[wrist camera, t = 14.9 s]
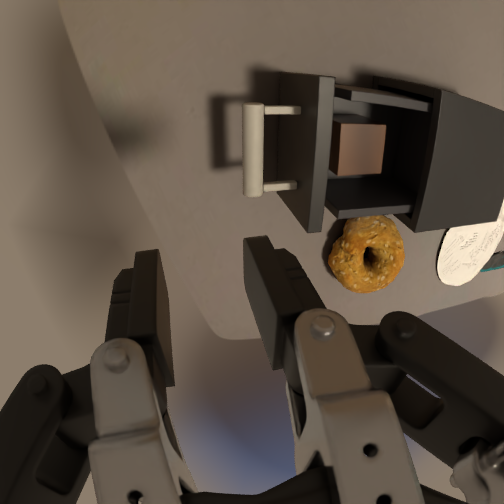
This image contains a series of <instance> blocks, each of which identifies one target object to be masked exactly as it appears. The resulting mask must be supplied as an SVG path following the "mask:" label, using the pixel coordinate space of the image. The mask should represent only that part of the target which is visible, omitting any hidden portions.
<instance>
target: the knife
mask: <svg viewBox="0 0 504 504" xmlns="http://www.w3.org/2000/svg"><path fill="white" fill-rule="evenodd" d="M503 267H504V252H503V251H502V252H501V253H498V254H495V255H494V254H493V255H492V256H491V257H490V259H489V261H487V262H486V263H485V265H484V266H483V267H482V268H481V270H480V271H481V272H485V271H490V270H495V269H499V268H503Z"/></svg>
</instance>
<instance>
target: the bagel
mask: <svg viewBox="0 0 504 504" xmlns="http://www.w3.org/2000/svg"><path fill="white" fill-rule="evenodd" d="M343 231H344V234H343V235H342V237H339V238H338V239H337V240H336V242H335V243H334V244H333V248H332V251H331V254H330V255H329V260H328V264H329V266H330V267H331V269H332V271H333V273H334V274H335V276H336V278H337V280H338V281H339V282H340V283H341V284H342V285H343V287H345V288H346V289H348V290H351V291H353V292H356V293H370V292H372V291H377V290H379V289H383V288H385V287H386V286H388V284H389V283H391V282H392V281H393V280H394V278H395V277H396V276H397V274H398V273H399V271H400V269H401V267H402V266H403V263H404V258H405V254H404V249H403V240H402V238H401V236H400V233H399V232H398V230H397V228H396V225H395V223H394V222H393V221H392V220H391V219H389V218H387V217H385V216H383V215H377V216H366V217H356V218H351V219H349V220H347V221H346V223H345V227H344V228H343ZM367 246H368V247H369V253H368V258H365V259H363V253H364V251H365V248H366V247H367Z"/></svg>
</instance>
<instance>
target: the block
mask: <svg viewBox="0 0 504 504" xmlns="http://www.w3.org/2000/svg"><path fill="white" fill-rule="evenodd" d="M385 134H386V125H385V124H383V123H380V122H378V121H375V120H372V119H370V118H367V117H364V116H361V115H355V114H333V122H332V135H331V147H330V158H329V170H330V171H331V172H333V173H334V174H335V175H337V176H346V175H362V174H381V169H382V161H383V153H384V144H385Z"/></svg>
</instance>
